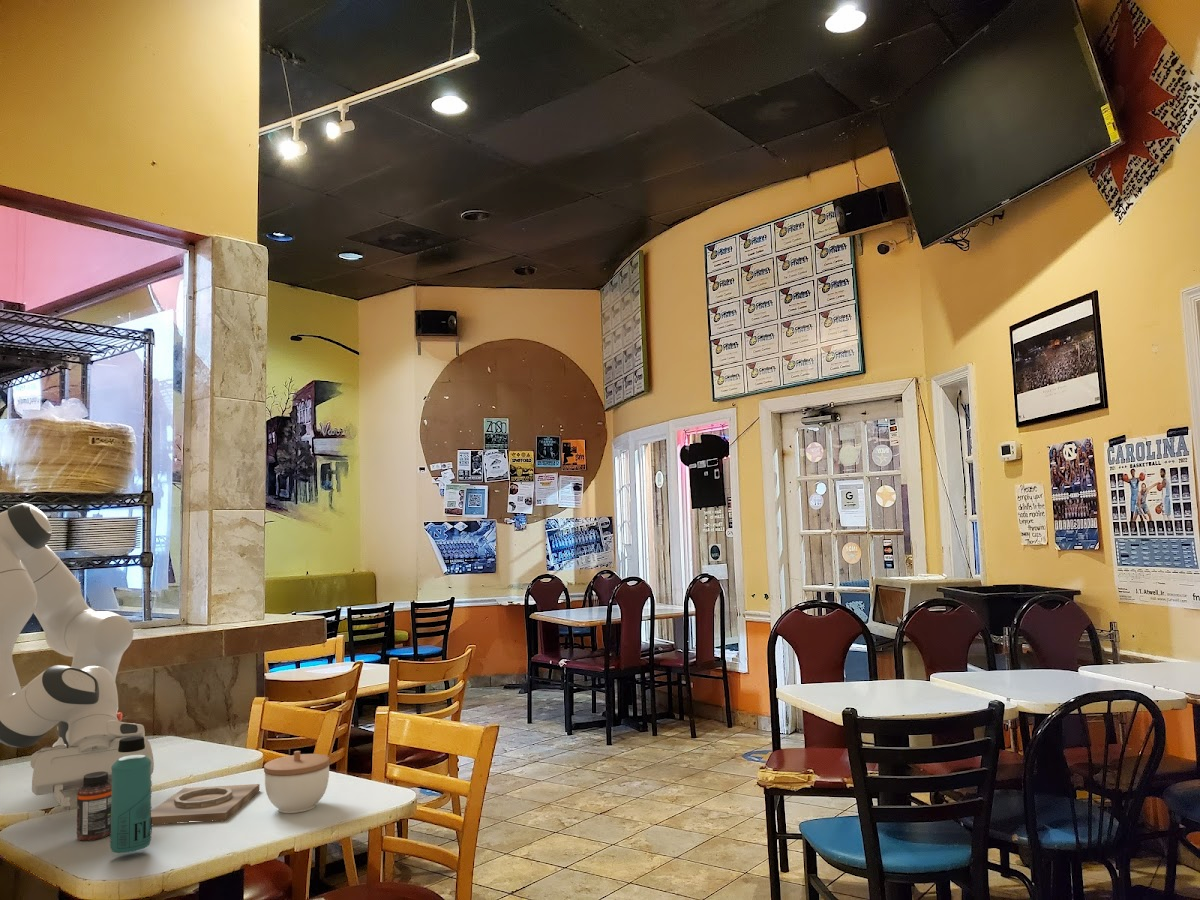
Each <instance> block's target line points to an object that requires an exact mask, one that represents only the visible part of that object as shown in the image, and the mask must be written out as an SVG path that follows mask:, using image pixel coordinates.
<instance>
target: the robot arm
mask: <svg viewBox="0 0 1200 900" xmlns="http://www.w3.org/2000/svg"><path fill="white" fill-rule="evenodd" d="M52 534H53V529H52V527H51V523H50V521H49V518H48V516H47V515H46V514H45V513H44V512H43V511H42V510H40V509H39V508H38V507H37V506H35V505H33V504H30V503H26V502H23V503H18V504H15V505H13V506H11V507H10V506H9V507H8V508H7V509H6V510H4V511H1V512H0V743H1V744H3V745H5V746H7V747H11V748H30V747H31V746H34V745H35V744H37V743H38V742H39V740H41V739H42V738H43V737H45V735H46V734H47V733H48V732H49V731H50V730H52V728H54V727H55V726H56V725H57V727H56V731H57V737H58V738H57V741H55V742H54V743H53V744H52V746H44V747H41V748H40V749H39V750H36V751H35V752H33V753H32V755H30V756H31V757H30V767H31V768H32V769H33V771H32V778H31V792H32V793H33V794H34V795H35V796H43V795H48V794H49V795H51V794H53V798H54V800H56V801H57V802H58V804H60V812H66V811H70V809H71V797H70V796H68V797H65V796H64V793H63V792H67V791H74V790H79V789H80V788H81V787H82V786H83V784H84V783H83V779H84V775H86V774H89V773H93V772H101V771H104V772H108V780H107V781H108V782H109V783H111V784H112V769H111V767H112V765H113V764H114V763H115V762H116V761H117V760H118V759H119V758H122V757H125V756H131V755H145V756H146V757H148V758H149V759H150V760H151V776H152V775H153V773H154V768H155V762H154V761H155V760H154V755H153V749H152V747H151V746H152V745H151V743H150V741H149V739H148V738H146V737H145V733H146V731H145V726H144V724H141V723H131V722H124V721H122V719H123V716H124V715H123V713H122V711H121V712H118V711H119V694H118V689H117V687H118V686H117V684H116V683H117V682H116V679H117V675H118V671H119V667H120V663H121V661H122V657H123V656H124V653H125V652H126V650H127V649H128V648H129V647H130V645H131V643H132V642H133V639H134V628H133V625H132V623H131V621H130V620H128V619H127V618H126V617H125V616H122V615H121V614H118V613H116V612H113V611H107V610H105V611H103V610H94V609H92V608H91V606H89V605H88V603H87V602H86V601H85V598H84V596H83V595H82V591H81V587H82V585H81V583H80V581H79V580H78V579H77V577H76V576H75V575H74V574H73V572H71V570H70V569H69V568H68V567H67V565H66V564H65V563H64V562H63V561H62V560H61V558H60V557H59V556H58V555H57V553H55V552H54V551H53V550H52V548H51V547H49V545H47V544H48V543H49V541H50V540H51V537H52ZM33 614H34V616H35V617H36V619H37V621H38V623H39V625H40V626H41V628H42V630H43V631H44V635H45V637H44V638H45V642H46V644H47V645H48V647H49V648H50V649H51V650H53V651H54V652H56V653H58V654H60V655H62V656H63V657H64V656H65V657H72V660H71V661H72V662H71V665H70V666H69V665H65V664H64V665H63V664H57V665H51V666H49V667H48V668H46V669H45V670H44V671H42V672H41V673H40V674H38V675H37V676H35V677H34V678H33V679H32V680H30V681H29V682H28V683H27V684H26V685H25V686H24V687H22V686H21V683H20V680H19V677H18V674H17V671H16V667H15V664H14V662H13V661H14V660H13V651H14V648H15V644H16V642H17V639H18V638H19V636H20V634H21V632H22V631H23V629H24V628H25V626H26V625H27V623H28V621H29V620H30V619H31V618H32V615H33ZM133 736H142V737H144V744H145V748H144V749H142V750H139V751H134V752H118V748H119V741H120V740H121V739H123V738H127V737H133Z"/></svg>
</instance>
